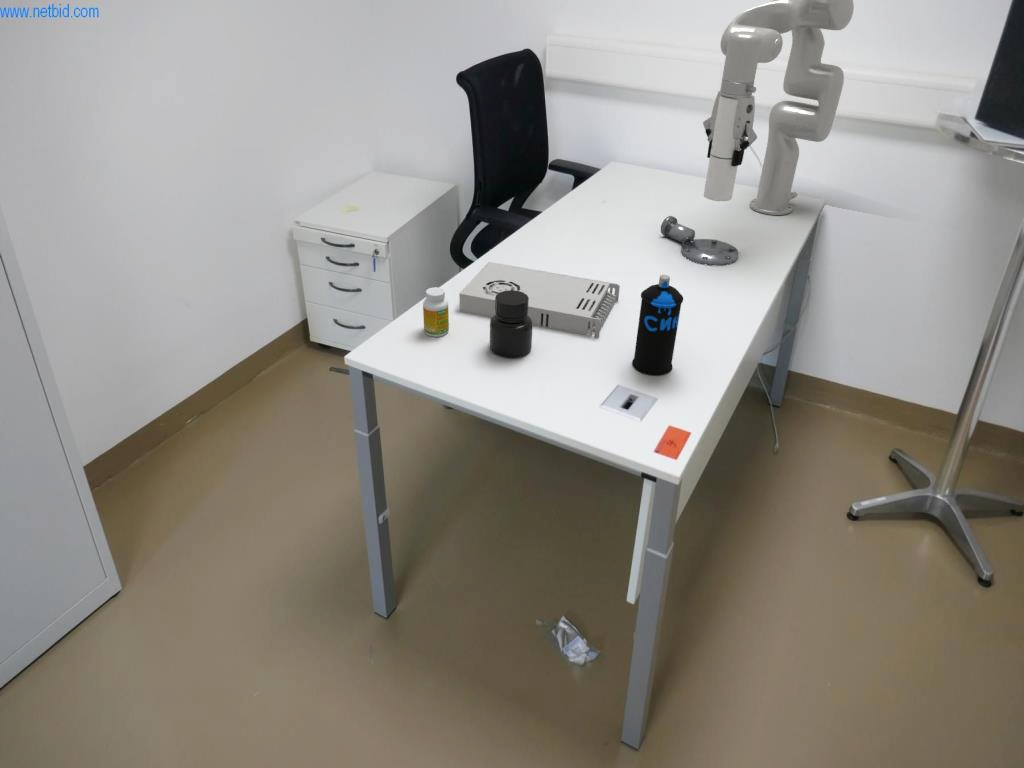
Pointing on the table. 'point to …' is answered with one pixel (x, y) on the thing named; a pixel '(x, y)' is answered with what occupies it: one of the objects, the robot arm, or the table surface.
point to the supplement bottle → (435, 313)
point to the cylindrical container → (722, 153)
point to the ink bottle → (511, 325)
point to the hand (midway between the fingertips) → (724, 160)
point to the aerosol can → (657, 328)
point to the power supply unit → (544, 297)
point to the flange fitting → (699, 245)
